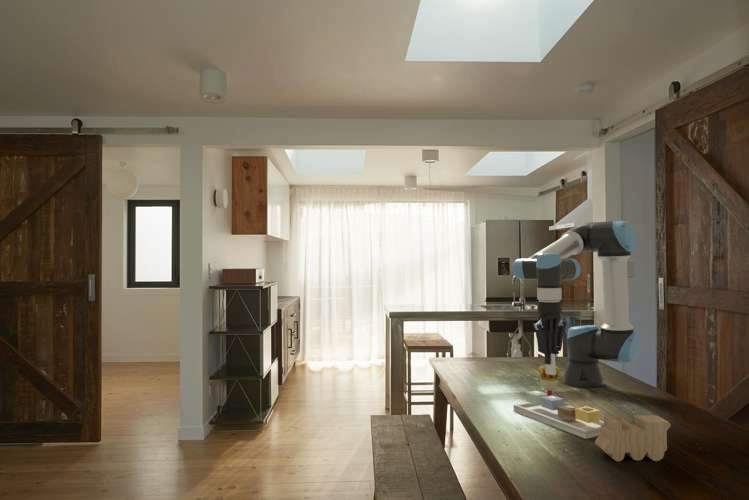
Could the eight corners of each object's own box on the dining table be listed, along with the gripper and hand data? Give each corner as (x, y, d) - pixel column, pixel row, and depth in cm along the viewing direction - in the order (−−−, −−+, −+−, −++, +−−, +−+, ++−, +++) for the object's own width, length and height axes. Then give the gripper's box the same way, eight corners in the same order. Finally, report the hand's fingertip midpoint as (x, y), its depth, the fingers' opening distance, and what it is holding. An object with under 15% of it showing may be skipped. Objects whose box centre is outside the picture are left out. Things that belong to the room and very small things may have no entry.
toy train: (595, 453, 137) (594, 415, 138) (658, 452, 138) (658, 414, 138) (604, 462, 132) (604, 422, 132) (671, 460, 132) (670, 421, 132)
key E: (537, 399, 177) (537, 389, 177) (547, 402, 173) (547, 393, 173) (526, 401, 175) (526, 391, 175) (536, 404, 171) (536, 394, 171)
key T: (569, 414, 164) (569, 403, 164) (581, 418, 160) (581, 407, 160) (557, 416, 162) (557, 405, 162) (569, 420, 158) (569, 410, 158)
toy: (561, 405, 181) (561, 361, 182) (540, 404, 183) (539, 361, 183) (558, 399, 188) (558, 357, 189) (537, 398, 190) (537, 357, 190)
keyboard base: (540, 406, 180) (540, 400, 180) (614, 432, 154) (614, 425, 154) (513, 410, 175) (513, 404, 175) (585, 438, 148) (585, 431, 148)
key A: (587, 416, 158) (586, 405, 158) (600, 420, 154) (599, 409, 154) (575, 418, 156) (575, 407, 156) (588, 423, 152) (588, 412, 152)
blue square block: (552, 404, 171) (552, 394, 171) (563, 408, 166) (563, 398, 166) (541, 406, 169) (541, 396, 169) (552, 410, 164) (552, 400, 164)
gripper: (554, 298, 175) (556, 369, 175) (525, 301, 169) (527, 374, 169) (572, 300, 169) (574, 373, 169) (543, 303, 162) (544, 379, 162)
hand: (550, 373), depth 169 cm, fingers closed
